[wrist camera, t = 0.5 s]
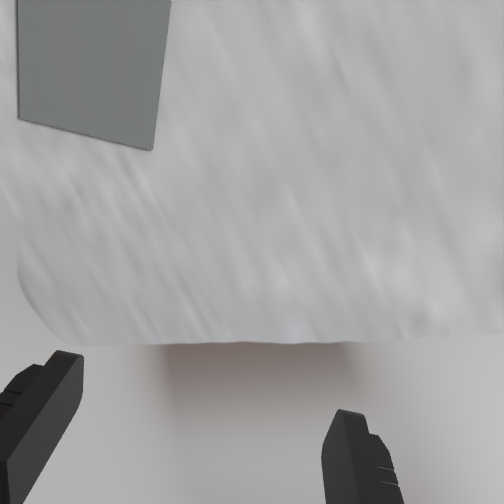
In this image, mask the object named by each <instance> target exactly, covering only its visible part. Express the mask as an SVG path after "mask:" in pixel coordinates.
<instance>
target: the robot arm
mask: <svg viewBox="0 0 504 504" xmlns="http://www.w3.org/2000/svg"><path fill="white" fill-rule="evenodd" d="M83 370H84V357H83V356H82V355H79V354H75V353H69V352H65V351H60V350H57V351H56V352H54V354H53V355H52V356H51V357H50V359H49V360H48V361H47V362H46V364H45V365H44V366H41V365H36V364H33V365H31V366H29V367H28V368H26V369H25V370H23V371H22V372H20V373H18V374H17V375H16V376H15V377H14V378H13V379H12V381H11V382H10V383H9V384H8V385H7V386H6V388H5V389H4V391H3V392H2V393H1V394H0V504H23V502H24V501H25V499H26V497H27V496H28V494H29V492H30V490H31V489H32V487H33V485H34V483H35V482H36V480H37V478H38V477H39V475H40V473H41V472H42V470H43V468H44V466H45V465H46V463H47V461H48V459H49V458H50V456H51V454H52V453H53V451H54V449H55V447H56V446H57V444H58V442H59V440H60V439H61V437H62V435H63V434H64V432H65V430H66V428H67V427H68V425H69V423H70V422H71V420H72V418H73V416H74V415H75V413H76V411H77V409H78V407H79V404H80V401H81V398H82V393H83V372H84V371H83ZM321 461H322V471H323V481H324V489H325V499H326V504H404V501H403V498H402V494H401V491H400V488H399V487H398V481H397V478H396V474H395V473H394V467H393V463H392V460H391V456H390V453H389V451H388V449H387V448H386V446H385V445H384V443H383V442H382V440H381V439H380V437H379V436H378V435H373V434H369V431H368V427H367V423H366V419H365V417H364V415H363V414H360V413H356V412H351V411H346V410H341V409H339V410H338V411H337V412H336V414H335V417H334V419H333V421H332V424H331V426H330V428H329V431H328V433H327V435H326V438H325V440H324V443H323V447H322V456H321Z"/></svg>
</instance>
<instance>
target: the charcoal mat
mask: <svg viewBox="0 0 504 504" xmlns="http://www.w3.org/2000/svg"><path fill="white" fill-rule="evenodd" d="M170 7H171V1H170V0H18V41H19V102H20V119H24V120H28V121H32V122H36V123H40V124H44V125H48V126H52V127H56V128H61V129H65V130H69V131H73V132H77V133H81V134H85V135H89V136H93V137H97V138H101V139H105V140H109V141H114V142H118V143H122V144H126V145H130V146H134V147H138V148H142V149H146V150H150V151H151V150H153V143H154V135H155V127H156V119H157V111H158V103H159V95H160V87H161V79H162V71H163V63H164V55H165V47H166V39H167V31H168V23H169V15H170Z"/></svg>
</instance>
